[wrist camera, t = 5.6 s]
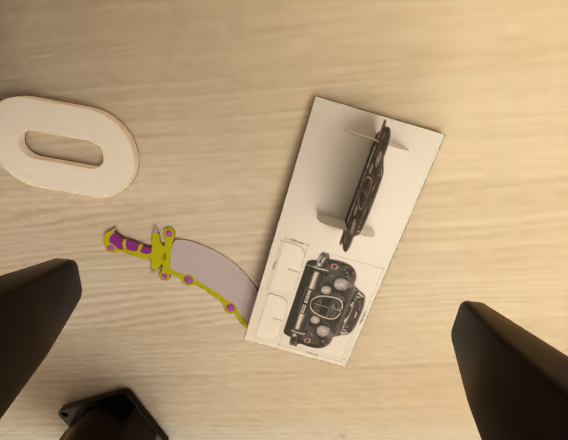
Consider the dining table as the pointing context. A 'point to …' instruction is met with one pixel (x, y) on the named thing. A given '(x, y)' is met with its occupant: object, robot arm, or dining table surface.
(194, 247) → the decorative knife
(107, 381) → the dining table surface
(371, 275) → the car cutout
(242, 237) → the dining table surface
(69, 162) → the chain link
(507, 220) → the dining table surface
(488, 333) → the robot arm
